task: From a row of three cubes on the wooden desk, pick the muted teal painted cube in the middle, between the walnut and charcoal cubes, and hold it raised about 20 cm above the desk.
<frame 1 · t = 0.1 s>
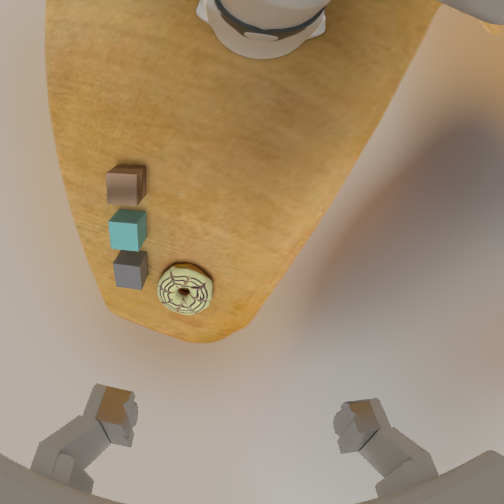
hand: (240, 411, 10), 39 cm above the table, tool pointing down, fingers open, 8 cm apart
charcoal cube: (135, 261, 52), on the table
decorated donut: (186, 283, 55), on the table
teal cube: (132, 223, 48), on the table
walnut cube: (131, 179, 43), on the table
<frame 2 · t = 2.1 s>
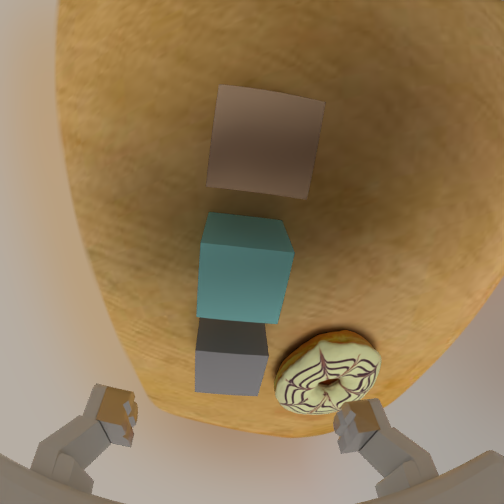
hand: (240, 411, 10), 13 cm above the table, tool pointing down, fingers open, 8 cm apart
charcoal cube: (229, 331, 24), on the table
decorated donut: (324, 362, 27), on the table
teal cube: (241, 248, 21), on the table
walnut cube: (257, 135, 17), on the table
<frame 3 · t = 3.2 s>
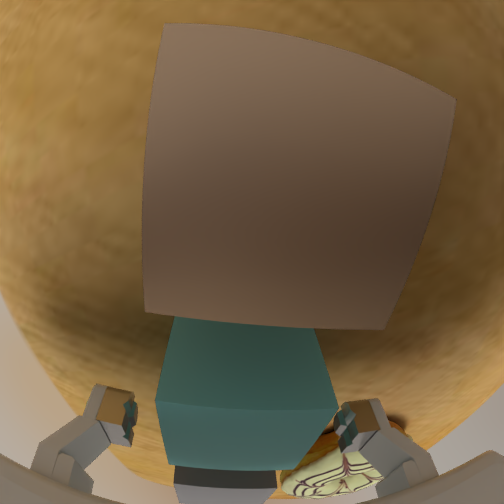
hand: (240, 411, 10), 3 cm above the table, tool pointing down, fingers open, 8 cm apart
charcoal cube: (222, 430, 16), on the table
decorated donut: (342, 445, 19), on the table
teal cube: (237, 346, 12), on the table
walnut cube: (269, 156, 9), on the table
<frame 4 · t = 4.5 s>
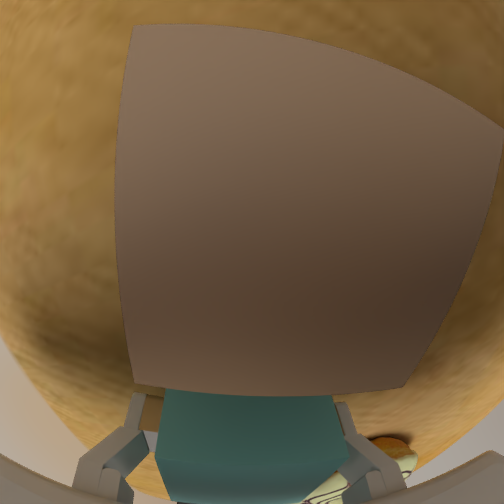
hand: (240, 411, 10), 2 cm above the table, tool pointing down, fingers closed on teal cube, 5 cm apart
decorated donut: (346, 461, 18), on the table
teal cube: (239, 380, 11), on the table, touching gripper
walnut cube: (273, 181, 8), on the table
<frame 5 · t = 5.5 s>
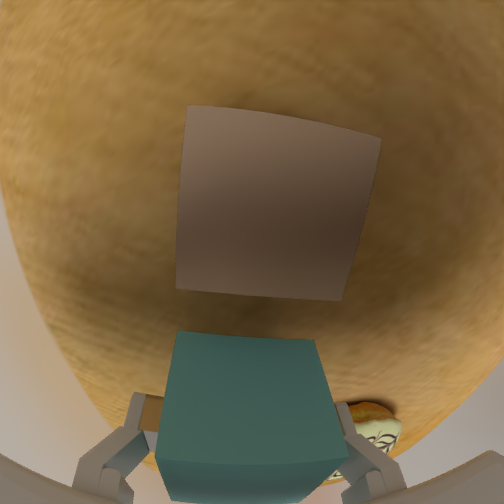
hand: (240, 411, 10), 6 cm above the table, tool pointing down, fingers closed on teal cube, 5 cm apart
decorated donut: (337, 430, 21), on the table
teal cube: (239, 379, 11), point 4 cm above the table, touching gripper
walnut cube: (259, 179, 12), on the table
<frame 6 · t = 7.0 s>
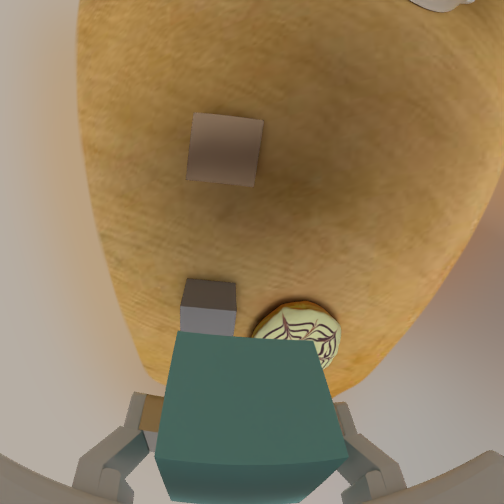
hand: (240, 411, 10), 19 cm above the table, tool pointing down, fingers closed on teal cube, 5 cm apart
charcoal cube: (209, 300, 31), on the table
decorated donut: (292, 332, 34), on the table
teal cube: (239, 380, 11), point 18 cm above the table, touching gripper
walnut cube: (225, 145, 24), on the table
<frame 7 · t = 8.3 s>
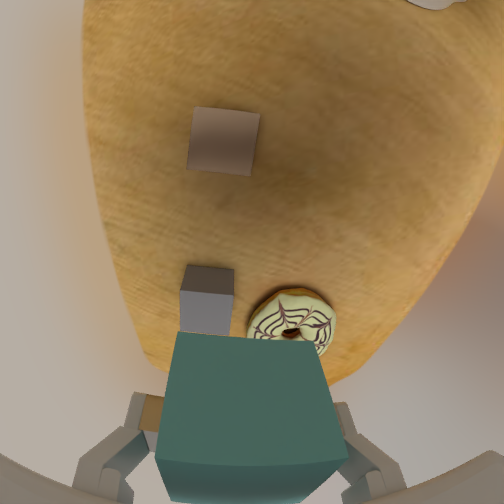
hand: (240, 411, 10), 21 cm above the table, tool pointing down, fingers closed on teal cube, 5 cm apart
charcoal cube: (209, 286, 32), on the table
decorated donut: (288, 319, 35), on the table
teal cube: (239, 380, 11), point 19 cm above the table, touching gripper
walnut cube: (224, 137, 25), on the table
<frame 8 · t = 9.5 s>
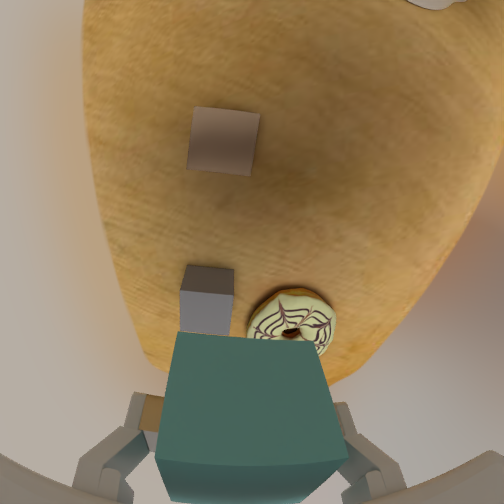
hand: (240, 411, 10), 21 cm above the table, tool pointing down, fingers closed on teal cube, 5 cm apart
charcoal cube: (208, 286, 32), on the table
decorated donut: (288, 319, 35), on the table
teal cube: (239, 380, 11), point 19 cm above the table, touching gripper
walnut cube: (224, 137, 25), on the table
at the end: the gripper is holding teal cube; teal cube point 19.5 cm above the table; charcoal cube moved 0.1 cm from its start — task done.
